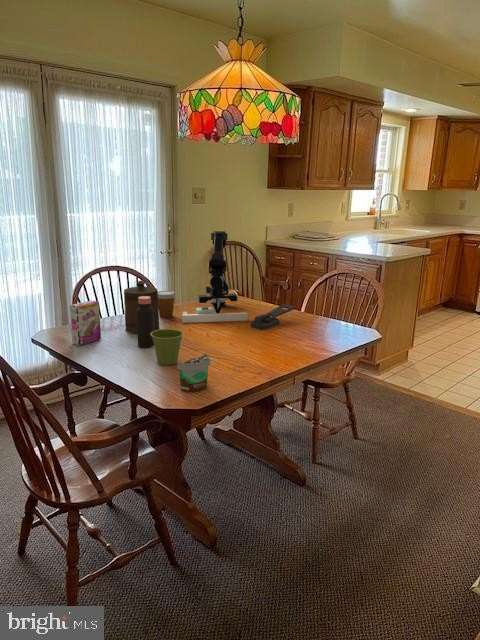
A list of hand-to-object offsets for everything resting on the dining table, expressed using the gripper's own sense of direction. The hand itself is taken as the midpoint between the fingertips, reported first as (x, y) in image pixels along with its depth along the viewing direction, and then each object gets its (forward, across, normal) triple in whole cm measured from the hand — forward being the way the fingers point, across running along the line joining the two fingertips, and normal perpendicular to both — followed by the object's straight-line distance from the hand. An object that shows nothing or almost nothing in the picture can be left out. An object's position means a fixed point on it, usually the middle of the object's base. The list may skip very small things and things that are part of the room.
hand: (217, 315), depth 235 cm
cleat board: (+2, +2, +1) cm, 2 cm away
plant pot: (+2, +31, +54) cm, 62 cm away
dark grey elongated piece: (+2, -24, +14) cm, 27 cm away
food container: (+2, +24, +80) cm, 83 cm away
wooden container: (+2, +37, +10) cm, 38 cm away
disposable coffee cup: (+2, +24, -9) cm, 26 cm away
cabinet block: (+2, +6, 0) cm, 6 cm away
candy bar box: (+2, +60, +23) cm, 64 cm away
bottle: (+2, +37, +33) cm, 50 cm away
